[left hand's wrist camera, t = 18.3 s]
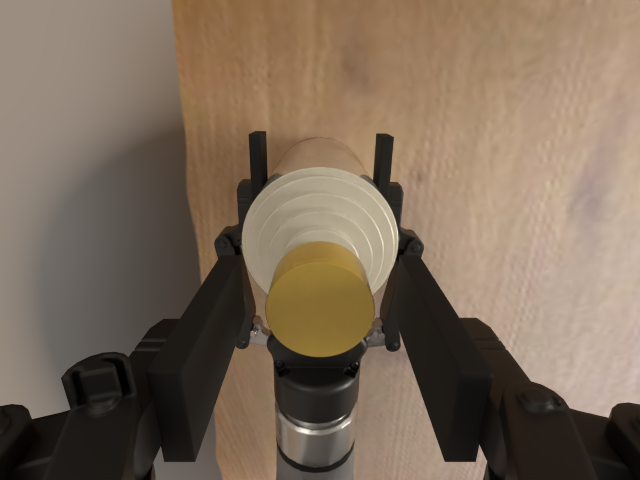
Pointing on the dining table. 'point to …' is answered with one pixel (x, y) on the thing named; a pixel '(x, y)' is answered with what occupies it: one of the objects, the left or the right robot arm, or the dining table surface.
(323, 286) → the cap
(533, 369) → the dining table surface
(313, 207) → the bottle
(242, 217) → the right robot arm
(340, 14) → the dining table surface
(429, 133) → the dining table surface
